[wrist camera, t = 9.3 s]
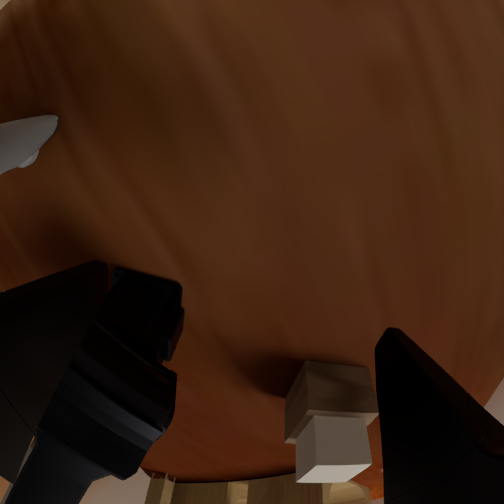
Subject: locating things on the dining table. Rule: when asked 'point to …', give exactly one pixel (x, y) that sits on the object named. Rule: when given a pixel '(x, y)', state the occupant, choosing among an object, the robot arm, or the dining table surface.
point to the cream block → (332, 450)
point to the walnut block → (328, 395)
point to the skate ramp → (256, 492)
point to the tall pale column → (24, 140)
